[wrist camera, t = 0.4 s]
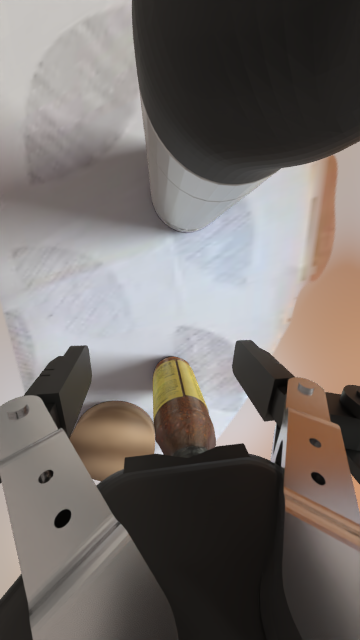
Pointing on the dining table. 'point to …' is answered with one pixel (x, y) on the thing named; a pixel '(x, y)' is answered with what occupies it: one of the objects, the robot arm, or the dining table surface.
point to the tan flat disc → (112, 437)
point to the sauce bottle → (180, 411)
